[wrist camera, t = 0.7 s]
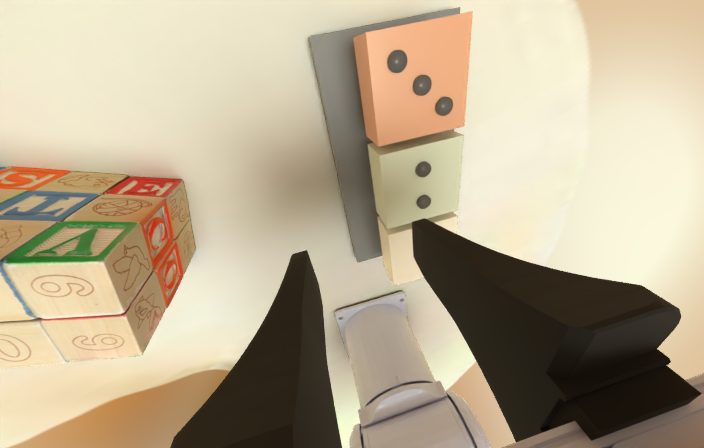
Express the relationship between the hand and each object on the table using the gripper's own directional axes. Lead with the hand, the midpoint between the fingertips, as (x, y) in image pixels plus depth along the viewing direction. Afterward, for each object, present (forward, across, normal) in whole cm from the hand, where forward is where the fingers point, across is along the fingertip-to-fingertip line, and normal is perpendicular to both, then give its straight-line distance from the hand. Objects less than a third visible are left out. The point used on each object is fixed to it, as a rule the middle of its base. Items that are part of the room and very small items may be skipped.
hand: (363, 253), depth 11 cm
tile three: (+7, -5, -6) cm, 10 cm away
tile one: (+7, -5, +6) cm, 10 cm away
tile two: (+7, -5, 0) cm, 9 cm away
